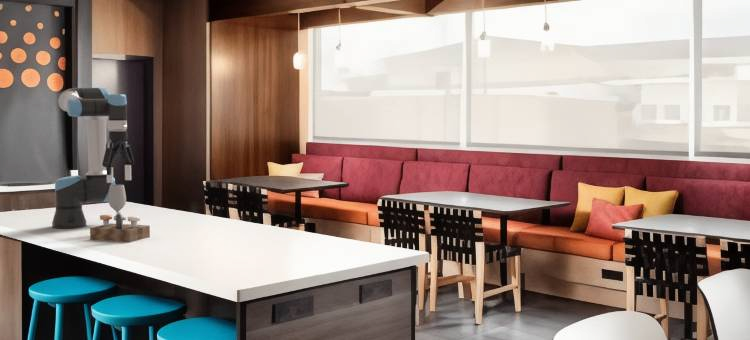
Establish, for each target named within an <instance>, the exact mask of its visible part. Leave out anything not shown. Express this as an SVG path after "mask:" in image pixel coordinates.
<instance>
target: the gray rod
mask: <svg viewBox="0 0 750 340" xmlns="http://www.w3.org/2000/svg"><path fill="white" fill-rule="evenodd" d="M115 216H116V220H115V224H116V229H122V213H121V211H119V212H117V213H116V214H115Z"/></svg>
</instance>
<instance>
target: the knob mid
mask: <svg viewBox="0 0 750 340" xmlns="http://www.w3.org/2000/svg"><path fill="white" fill-rule="evenodd" d="M126 220H127V216H126V215H124V214H123V215H122V227H123V224H124V221H126ZM113 221H116V215H114V216H113Z"/></svg>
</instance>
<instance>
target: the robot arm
mask: <svg viewBox="0 0 750 340" xmlns="http://www.w3.org/2000/svg"><path fill="white" fill-rule="evenodd" d="M127 103H128V101H127V95H126V94H122V93H120V94H119V93H110V91H109V89H107V88H103V87H72V88H68V89H66V90H64V91H62V92H61V93H60V94H59V95H58V97H57V105H58V107H59V108H60V109H61V110H62V111H63V112H67V115H68V116H69V117H76V118H78V117H81V118H84V119H85V120H86V128H87V130H86V132H87V133H86V135H87V137H86V138H87V158H88V159H87V162H88V164H87V165H88V171H87V172H86V173H85V178H82V176H81V175H70V176H64V177H60V178H57V179H56V180H55V182H54V194H55V212H54V216H53V220H52V222H51V225H52V228H53V229H54V228H55V229H75V228H83V227H86V226H87V219H86V217H85V214H84V211H83V204H92V203H106V202H107V203H109V201H108V196H109V188H110V185H116V180H115V179H116V178H115V177H114V167H112V166H113V164H114V162H115V159H116V157H117V155H118V154H120V155H121V157H122V158H123V162H124V163H125V165H124V180H125V181H132V166H133V165H134V164H135V158H134V154H133V151H132V146H131V141H127V140H128V131H127V129H128V115H127V114H128V113H127V112H128V109H127V107H128V106H127V105H128V104H127ZM107 119H108V130H109V131H108V139H109V141H111V142H107Z"/></svg>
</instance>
